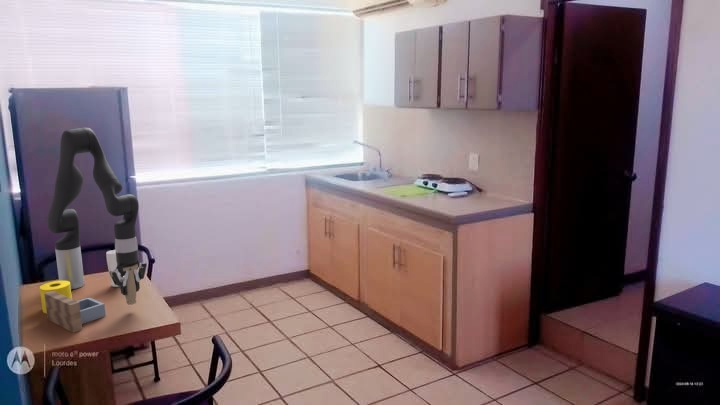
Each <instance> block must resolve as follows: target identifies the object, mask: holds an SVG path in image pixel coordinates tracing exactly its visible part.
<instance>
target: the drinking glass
mask: <svg viewBox="0 0 720 405" xmlns="http://www.w3.org/2000/svg"><path fill="white" fill-rule="evenodd" d="M105 255H106V264H107V268H108V273H109V272H110V271H114V270H115V269H116V267H117V261H116V251H115V249H113V250H111V249H110V250H107V251H106V254H105ZM117 276H118V278H119V277H120V273H119V272H118V275H117ZM109 278H110V285H111V287H112V288H120V286H118V285H115V284H114V282H113V280H112V278H111V276H110V275H109ZM119 280H120V278H119Z"/></svg>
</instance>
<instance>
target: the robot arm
mask: <svg viewBox="0 0 720 405" xmlns="http://www.w3.org/2000/svg"><path fill="white" fill-rule="evenodd" d="M59 146H60V147H59V148H60V149H59V162H58V169H57V174H56V178H55V182H54V190H53V197H52V201H51V204H50V207H49V210H48V214H47V218H46V219H47V220H46V226H47V230H48V231H49V232H50V233H52V234H61V233H65V235H64V236H63V237H61V238H59V239H58V240H56V241H55V242H54V250H55V256H56V259H55V260H56V265H57V266H56V267H57V274H58V275H57V276H58V281H69V282H70V286H71V290H76V289H80V288H83V286H84V285H85V277H84V269H83V268H84V267H83V258H82V251H81V250H82V249H81V242H80V241H81V233H80V220H79V219H80V218H79V215H78V213H77V211H76V210H75V209H74V208H67V207H68V206H70V205H71V203H73V202H74V201H75V200H76V199H77V198H78V197H79V195H80V194H81V193H82V192H81V191H82V187H83V184H84V177H83V173H82V172H81V170H80V169H79V168H78V166H77V165H76V164H75V156H77V155H78V154H87V153H90V154H91V156H92V157H93V167H92V168H93V169H92V176H93V179H94V182H95V184H96V185H97V187H98V188H99V190H100V191H101V194H102V197H103V199H104V203H105V207H106V210H107V212H108V214H110V215H111V216H113V217H120V216H123V217H122V219H120V220H118V221H116V222H115V223H114V226H113V229H114V230H113V231H114V250H115V251H116V261H117V267H116V269H115V270H114V271H110V272H109V271H108V273H109V277H110V276H111V278H112V280H113V282H114V284H115V285H118V286H120V287H119V288H120V293H121V294H122V295H123V296H125V295H127V286H126V281H127V279H128V274H129V271H127V269H126V271H123V268H125V267H128V266H132V265H135V264H138V268H137V269H135V270H134V271H133V272H134V278H135V284H136V293H137V292H139V290H140V288H141V287H140V286H141V285H140V281H141V280H143V279H145V278H144V277H145V275H146V270H147V266H148V265H147V263H146V262H142V261H141V262H140V261H139V248H138V247H139V246H138V240H137V232H136V231H137V230H136V223H137V218H138V212H139V207H140V206H139V201H138V199H137V197H136V196H135V195H134V194H123V195H119V194H120V193H121V192H122V190H123V186H122V183H121V182H120V181H119V178H118V177H117V176H116V174H115V172H114V171H113V169H112V168H111V165H110V164H109V161H108V159H107V157H106V154H105V152H104V150H103V148H102V145H101V143H100V140H99V138H98V137H97V134H96V133H95V131H94V130H92V128H89V127H80V128H79V127H78V128H72V129H71V128H70V129H66V130H64V131H63V132H62V134H61V137H60V145H59ZM118 272H119V273H120V277H119V278H120V280H119V278H118V276H117V275H118Z"/></svg>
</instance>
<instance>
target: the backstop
mask: <svg viewBox="0 0 720 405" xmlns="http://www.w3.org/2000/svg"><path fill="white" fill-rule="evenodd" d="M44 295H45V302H46V310H47V313H46V316H47V320H49V322H50V321H51V322H52V323H54V324H56V325H58V326H59V327H62V328H64V329H66V330H67V331H70V332H72V333H73V334H74V333H76V332H80V331H82V330H83V324H82V322H81V313H80V305H79V302H77V301H78V300H75V299H73V298H72V299H70V298H68V297H66V296H64V295H61V294H59V293H57V292H55V291H51V292H47V293H44Z"/></svg>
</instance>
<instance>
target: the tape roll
mask: <svg viewBox="0 0 720 405" xmlns="http://www.w3.org/2000/svg"><path fill="white" fill-rule="evenodd" d="M51 291H55V292H57V293H59V294H61V295H64V296H66V297H68V298H70V299H73V296H72V289H71V286H70V282H69V281H59V280H54V281H50V282H46V283H43V284H42V285H40V286H39V293H40V300H41V301H40V302H41V308H42V312H43V313H44V314H47V310H46V302H45V295H44V293H47V292H51Z"/></svg>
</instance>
